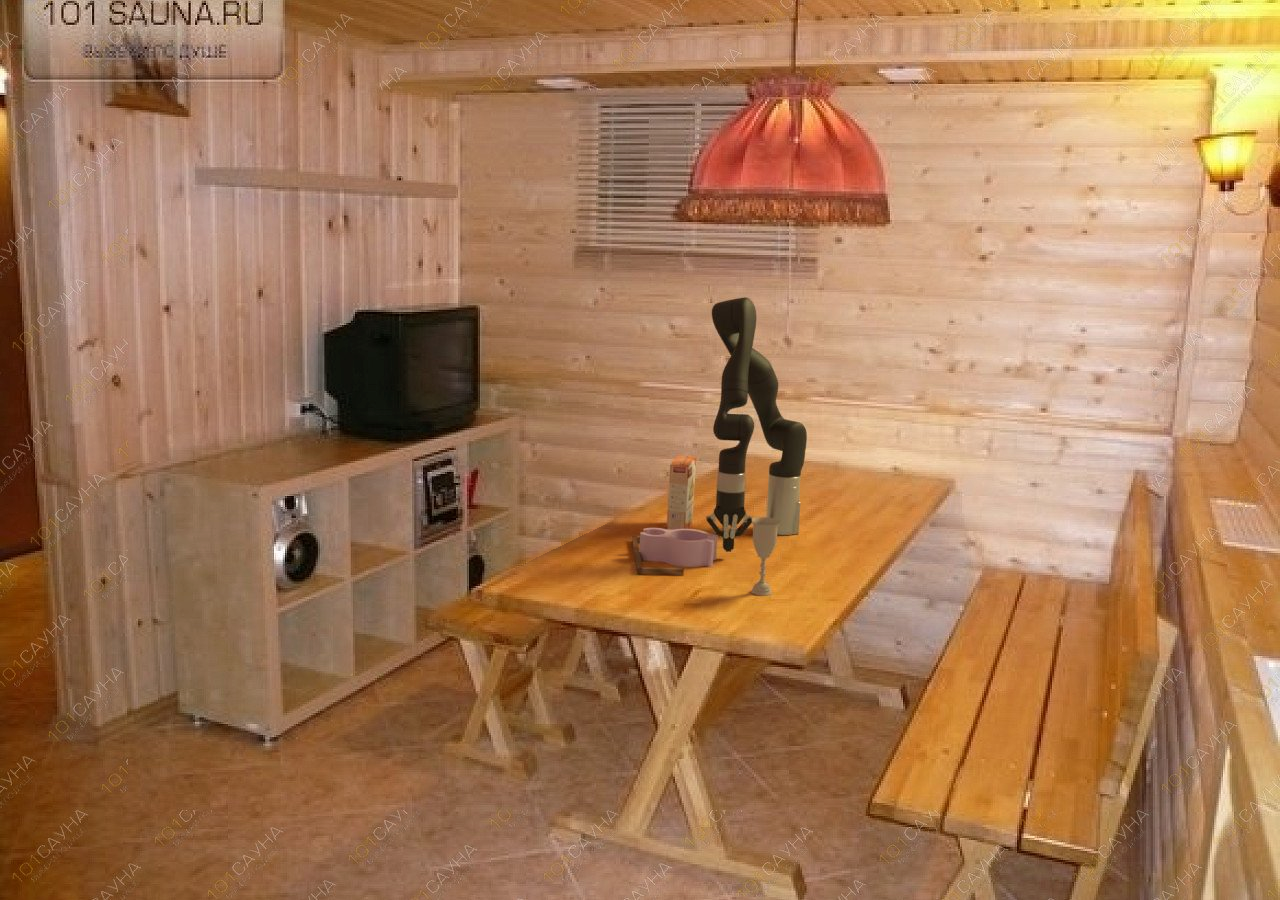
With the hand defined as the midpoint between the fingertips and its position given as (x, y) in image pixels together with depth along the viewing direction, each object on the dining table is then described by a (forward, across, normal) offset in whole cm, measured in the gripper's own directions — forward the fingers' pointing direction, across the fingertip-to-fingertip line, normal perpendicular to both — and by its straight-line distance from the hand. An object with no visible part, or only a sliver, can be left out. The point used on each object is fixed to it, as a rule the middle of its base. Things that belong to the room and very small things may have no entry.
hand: (727, 550), depth 290 cm
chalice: (+2, -5, +27) cm, 27 cm away
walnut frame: (+2, +19, 0) cm, 19 cm away
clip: (+2, +14, +1) cm, 14 cm away
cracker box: (+2, +10, -28) cm, 30 cm away
